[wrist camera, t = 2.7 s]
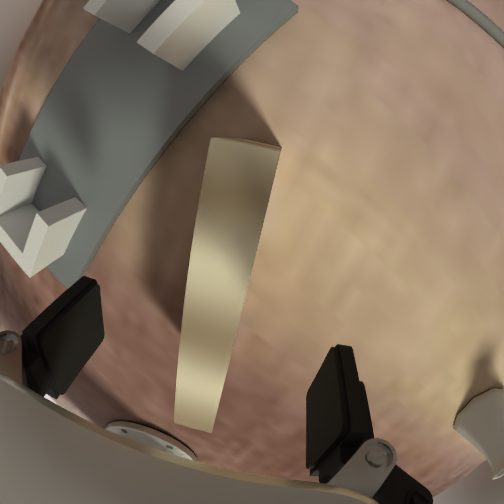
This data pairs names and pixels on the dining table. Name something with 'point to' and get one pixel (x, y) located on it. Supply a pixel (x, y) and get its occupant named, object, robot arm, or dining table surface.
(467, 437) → the flask
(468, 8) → the newton's cradle
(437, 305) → the dining table surface
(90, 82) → the frame
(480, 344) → the dining table surface
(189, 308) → the slat
